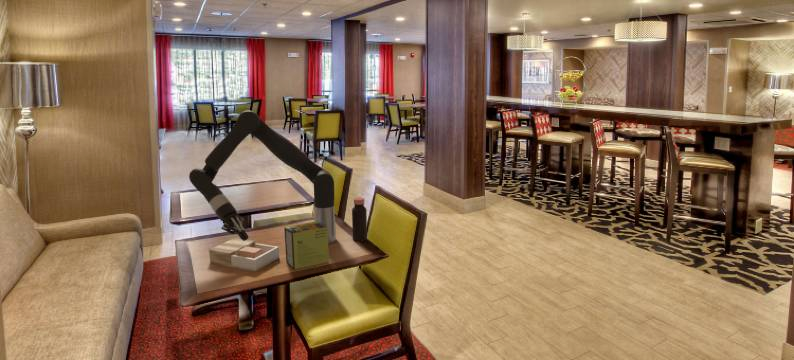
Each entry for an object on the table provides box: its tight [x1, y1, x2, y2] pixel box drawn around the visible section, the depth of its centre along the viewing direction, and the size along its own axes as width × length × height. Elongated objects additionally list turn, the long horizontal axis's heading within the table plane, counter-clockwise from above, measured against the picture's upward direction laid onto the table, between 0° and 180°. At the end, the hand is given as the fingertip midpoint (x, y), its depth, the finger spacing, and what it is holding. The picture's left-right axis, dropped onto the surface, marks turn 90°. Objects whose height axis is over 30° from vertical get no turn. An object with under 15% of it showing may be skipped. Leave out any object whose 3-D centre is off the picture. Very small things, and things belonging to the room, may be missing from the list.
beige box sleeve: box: [208, 237, 256, 268], centre depth 215 cm, size 16×11×6 cm
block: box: [238, 247, 262, 259], centre depth 210 cm, size 5×5×8 cm
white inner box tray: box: [231, 242, 280, 272], centre depth 211 cm, size 16×12×5 cm
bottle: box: [351, 196, 368, 242], centre depth 236 cm, size 7×7×20 cm
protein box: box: [283, 220, 330, 270], centre depth 210 cm, size 10×15×16 cm
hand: (246, 239), depth 209 cm, fingers closed
